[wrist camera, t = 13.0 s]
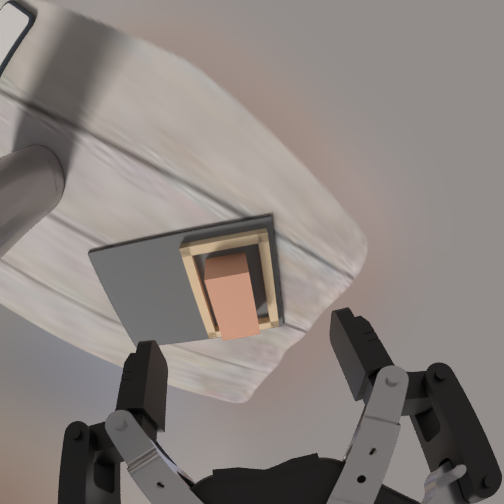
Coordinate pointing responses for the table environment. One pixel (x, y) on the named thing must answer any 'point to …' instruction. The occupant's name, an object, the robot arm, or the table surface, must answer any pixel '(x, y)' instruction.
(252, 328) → the terracotta block
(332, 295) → the table surface
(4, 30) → the phone case
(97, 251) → the mat
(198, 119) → the table surface
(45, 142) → the table surface
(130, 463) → the robot arm
